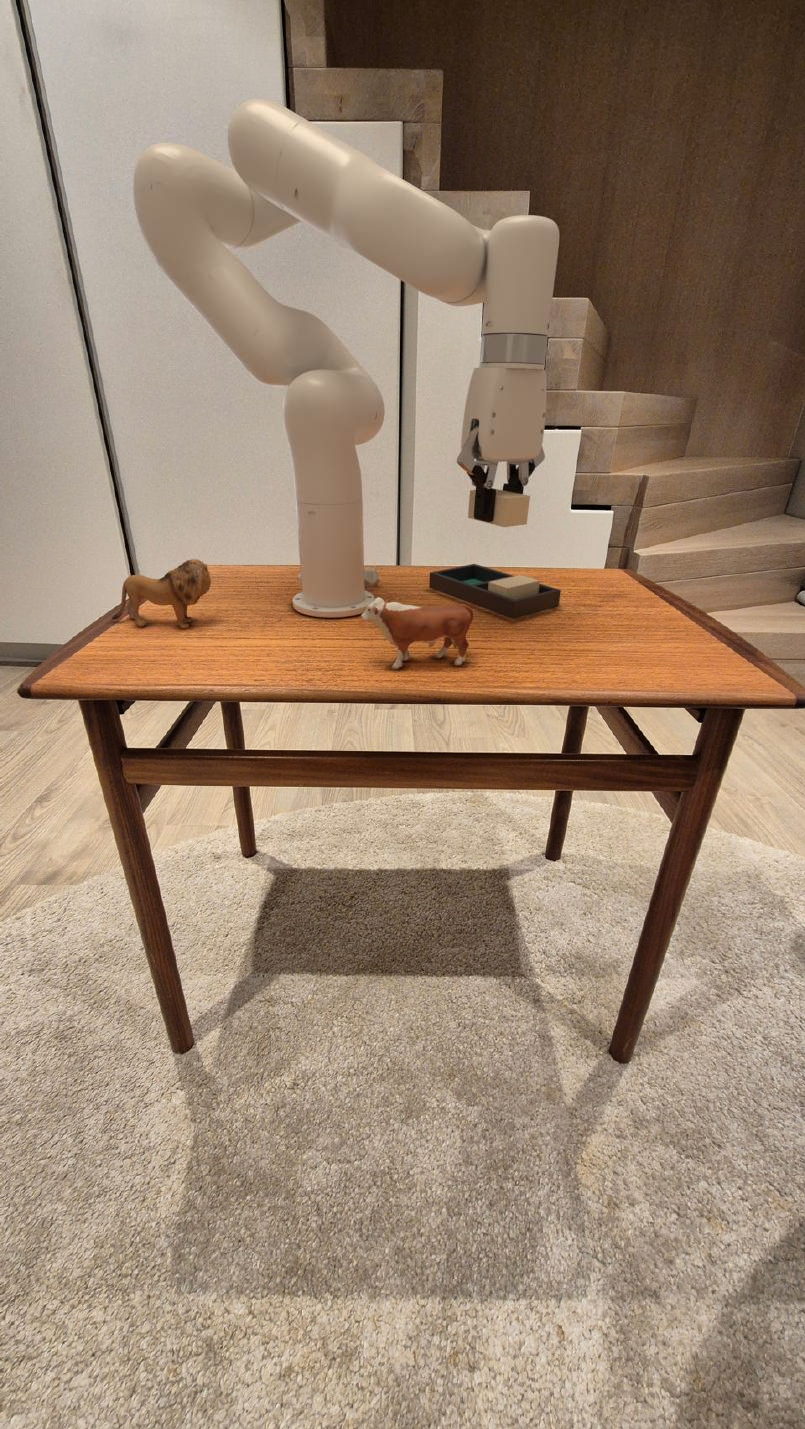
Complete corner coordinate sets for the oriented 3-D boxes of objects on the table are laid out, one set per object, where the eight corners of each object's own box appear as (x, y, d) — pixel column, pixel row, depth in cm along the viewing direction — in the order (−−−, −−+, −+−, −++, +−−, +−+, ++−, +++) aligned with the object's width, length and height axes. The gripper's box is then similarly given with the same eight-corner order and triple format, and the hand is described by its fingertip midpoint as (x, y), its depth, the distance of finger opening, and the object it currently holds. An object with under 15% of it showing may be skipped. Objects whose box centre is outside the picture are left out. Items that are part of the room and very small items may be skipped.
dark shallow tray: (512, 622, 87) (514, 601, 85) (429, 590, 100) (429, 572, 99) (558, 609, 92) (561, 590, 90) (473, 581, 105) (474, 563, 104)
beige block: (486, 604, 92) (488, 581, 90) (518, 596, 96) (520, 574, 94) (505, 611, 89) (507, 588, 88) (537, 602, 93) (540, 580, 91)
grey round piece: (359, 584, 103) (359, 566, 102) (381, 584, 103) (381, 567, 102) (357, 590, 100) (357, 572, 99) (379, 590, 100) (379, 572, 98)
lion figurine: (221, 616, 88) (212, 554, 83) (212, 629, 83) (202, 564, 79) (119, 617, 87) (105, 554, 83) (104, 629, 82) (89, 564, 78)
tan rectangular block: (504, 527, 75) (507, 498, 73) (467, 517, 80) (469, 490, 78) (526, 524, 77) (530, 495, 75) (489, 515, 82) (492, 488, 80)
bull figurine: (362, 656, 75) (360, 593, 71) (468, 654, 76) (472, 591, 72) (362, 671, 71) (360, 604, 67) (474, 668, 72) (479, 603, 68)
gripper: (539, 359, 76) (522, 508, 85) (435, 352, 68) (428, 519, 76) (586, 358, 71) (562, 517, 80) (479, 350, 62) (466, 530, 71)
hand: (496, 517), depth 78 cm, fingers closed on tan rectangular block, 4 cm apart
